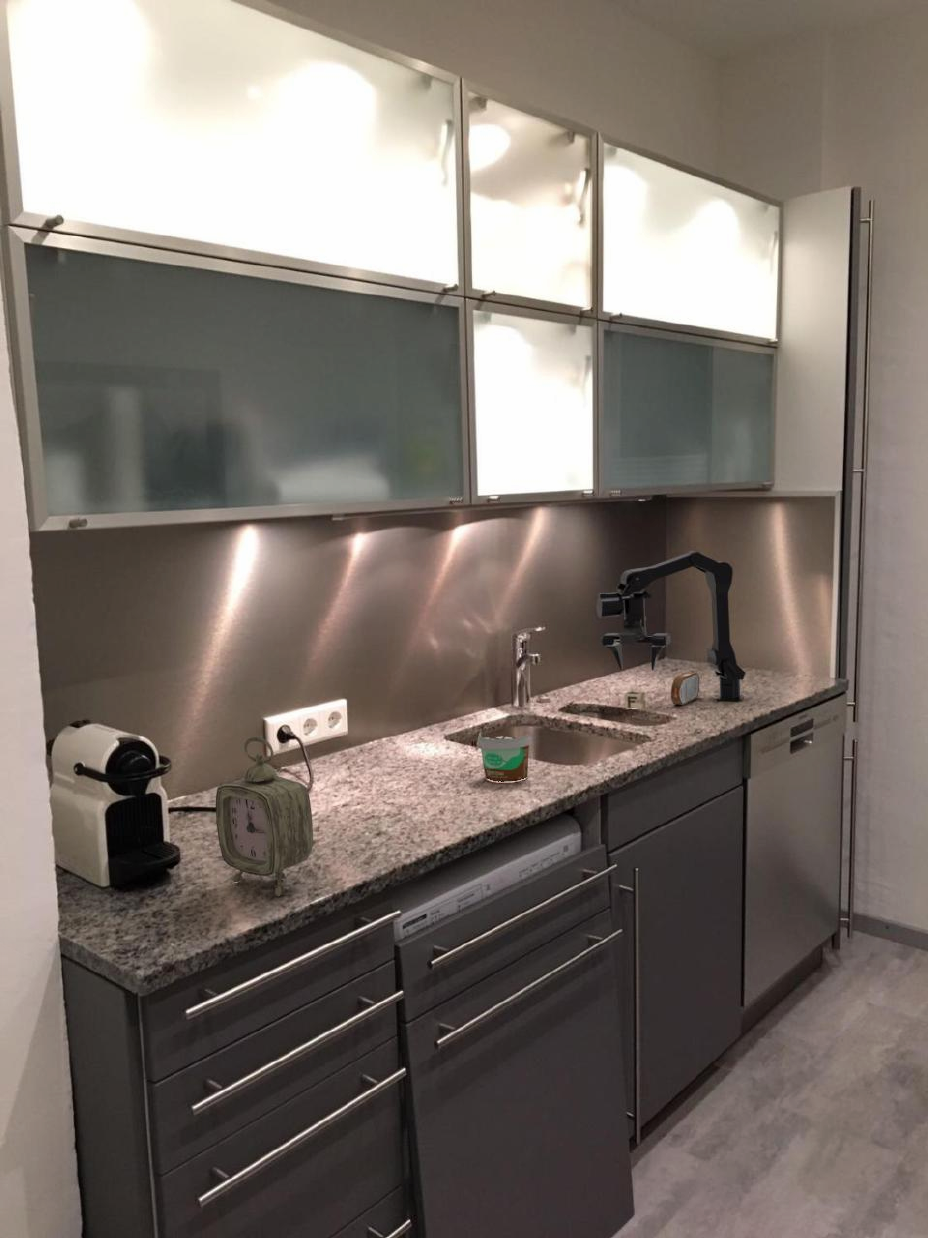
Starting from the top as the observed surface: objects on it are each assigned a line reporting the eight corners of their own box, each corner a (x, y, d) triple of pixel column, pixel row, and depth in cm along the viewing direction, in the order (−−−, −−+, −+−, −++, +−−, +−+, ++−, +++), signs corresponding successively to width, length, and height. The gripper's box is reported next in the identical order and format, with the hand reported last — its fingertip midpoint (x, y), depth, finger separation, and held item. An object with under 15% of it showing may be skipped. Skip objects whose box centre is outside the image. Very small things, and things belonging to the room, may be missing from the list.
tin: (691, 697, 297) (690, 669, 296) (701, 698, 295) (701, 669, 294) (670, 707, 285) (669, 678, 284) (680, 708, 283) (679, 678, 282)
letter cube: (630, 706, 290) (629, 690, 289) (645, 707, 288) (645, 691, 287) (625, 709, 286) (624, 693, 285) (640, 710, 284) (640, 694, 283)
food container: (470, 784, 220) (468, 739, 219) (480, 776, 226) (478, 732, 224) (524, 787, 215) (522, 741, 214) (533, 779, 221) (531, 734, 220)
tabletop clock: (221, 885, 168) (208, 738, 166) (264, 868, 175) (252, 726, 172) (279, 903, 159) (266, 747, 156) (321, 884, 166) (310, 735, 163)
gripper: (593, 618, 281) (596, 674, 283) (659, 618, 273) (661, 675, 275) (606, 613, 291) (608, 667, 293) (670, 613, 283) (672, 668, 285)
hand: (637, 669), depth 286 cm, fingers open, 9 cm apart
